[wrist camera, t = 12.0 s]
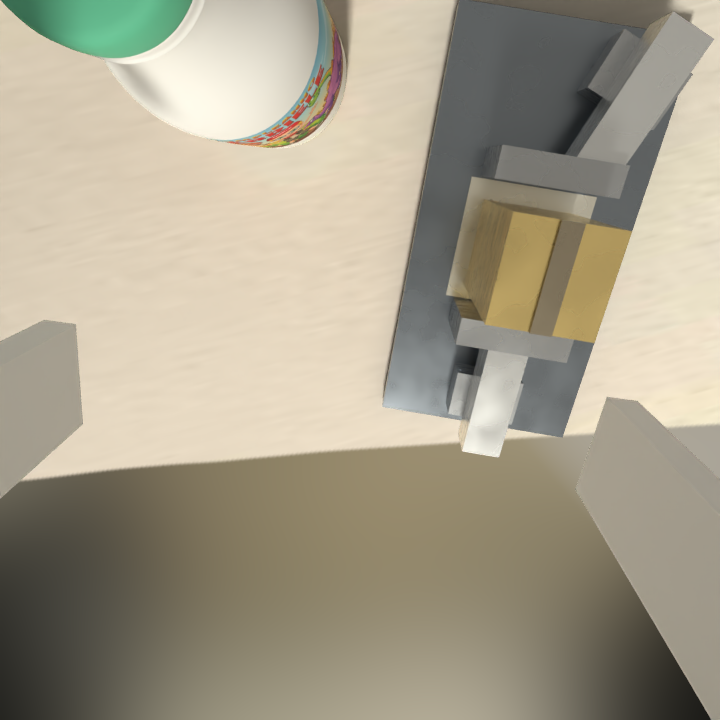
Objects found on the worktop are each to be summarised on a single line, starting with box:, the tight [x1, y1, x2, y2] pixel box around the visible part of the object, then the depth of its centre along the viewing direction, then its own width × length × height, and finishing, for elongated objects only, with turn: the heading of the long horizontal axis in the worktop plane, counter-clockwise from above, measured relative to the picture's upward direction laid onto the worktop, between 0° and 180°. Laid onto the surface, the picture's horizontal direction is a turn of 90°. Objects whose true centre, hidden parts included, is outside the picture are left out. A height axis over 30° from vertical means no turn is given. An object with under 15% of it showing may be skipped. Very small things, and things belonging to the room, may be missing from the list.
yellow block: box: [464, 199, 632, 343], centre depth 26 cm, size 5×5×8 cm
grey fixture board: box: [382, 0, 714, 457], centre depth 29 cm, size 12×23×6 cm, turn 171°
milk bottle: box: [1, 0, 347, 148], centre depth 20 cm, size 8×8×20 cm
